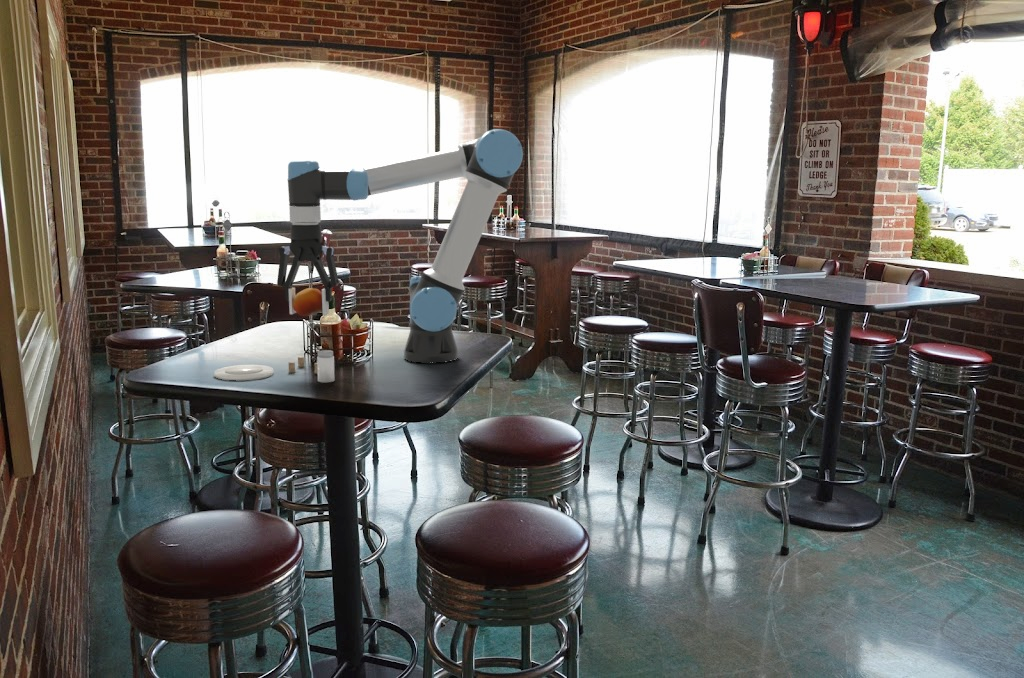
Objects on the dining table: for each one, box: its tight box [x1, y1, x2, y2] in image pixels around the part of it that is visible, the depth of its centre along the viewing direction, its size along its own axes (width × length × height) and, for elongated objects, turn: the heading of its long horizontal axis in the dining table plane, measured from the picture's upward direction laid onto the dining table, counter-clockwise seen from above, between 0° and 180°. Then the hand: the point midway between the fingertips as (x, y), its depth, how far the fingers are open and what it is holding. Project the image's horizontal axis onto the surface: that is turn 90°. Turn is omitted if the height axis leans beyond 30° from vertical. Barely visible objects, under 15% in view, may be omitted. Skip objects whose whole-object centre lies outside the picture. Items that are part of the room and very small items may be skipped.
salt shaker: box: [316, 349, 335, 383], centre depth 197 cm, size 4×4×7 cm
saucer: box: [214, 364, 274, 382], centre depth 203 cm, size 14×14×1 cm
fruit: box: [293, 287, 323, 317], centre depth 207 cm, size 8×8×8 cm
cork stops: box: [288, 356, 318, 375], centre depth 209 cm, size 8×8×2 cm
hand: (309, 313), depth 207 cm, fingers closed on fruit, 8 cm apart
